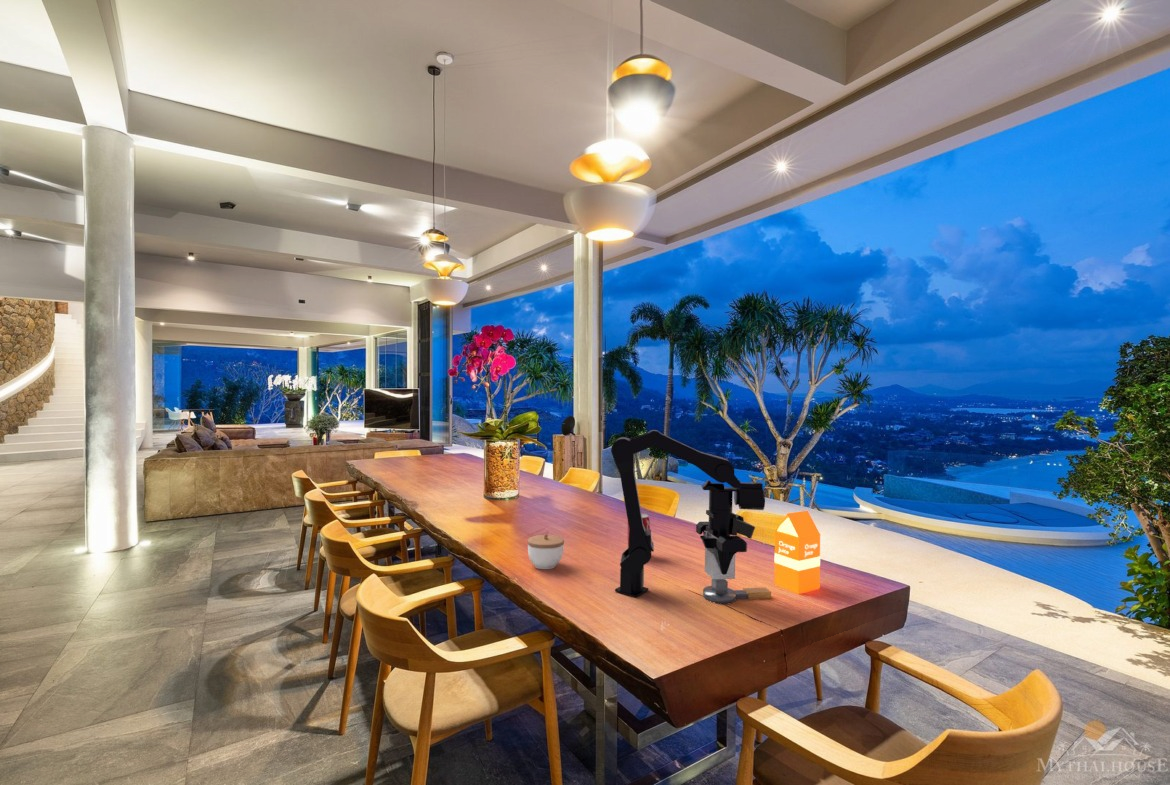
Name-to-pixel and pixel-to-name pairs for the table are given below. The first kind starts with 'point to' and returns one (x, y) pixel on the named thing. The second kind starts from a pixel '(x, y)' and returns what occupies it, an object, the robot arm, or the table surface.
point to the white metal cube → (717, 566)
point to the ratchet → (732, 592)
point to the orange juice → (797, 553)
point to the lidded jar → (545, 550)
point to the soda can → (646, 524)
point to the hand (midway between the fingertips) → (719, 570)
